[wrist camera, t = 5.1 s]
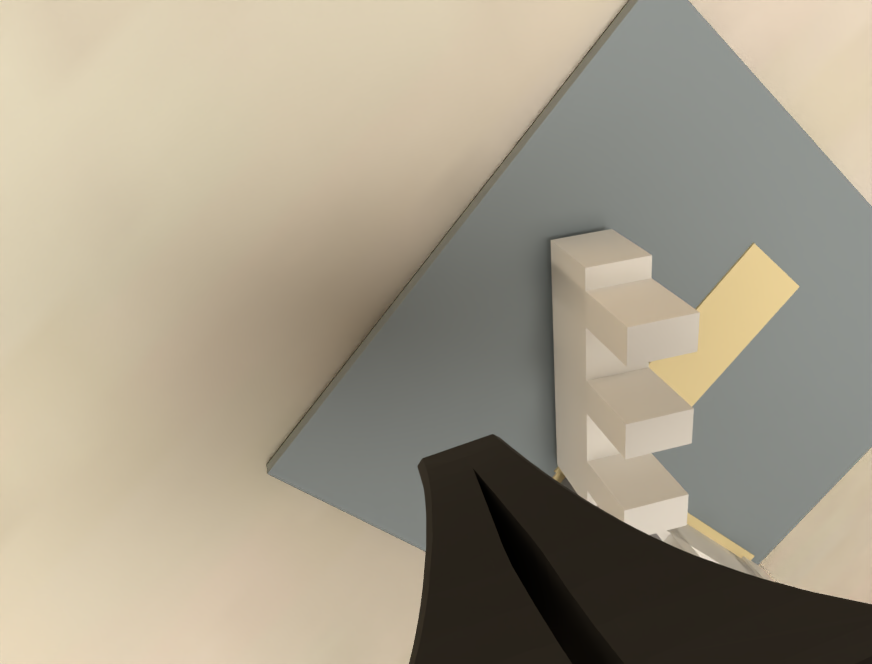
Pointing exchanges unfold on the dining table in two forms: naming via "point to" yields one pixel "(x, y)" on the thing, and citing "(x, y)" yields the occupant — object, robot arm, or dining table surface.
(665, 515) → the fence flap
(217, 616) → the dining table surface
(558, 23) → the dining table surface
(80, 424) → the dining table surface
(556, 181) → the board
